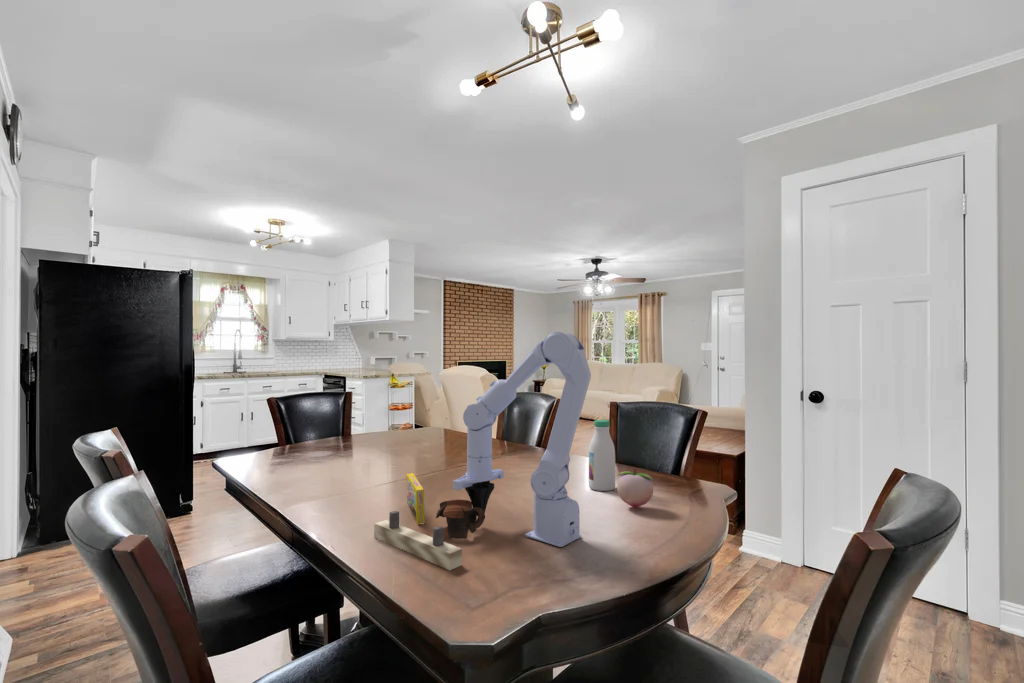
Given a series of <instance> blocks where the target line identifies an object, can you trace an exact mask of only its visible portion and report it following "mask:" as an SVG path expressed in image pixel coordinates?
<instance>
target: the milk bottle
mask: <svg viewBox="0 0 1024 683" xmlns="http://www.w3.org/2000/svg"><path fill="white" fill-rule="evenodd" d="M610 424H611V423H610V421H609V420H607V419H595V420H594V421H593V427H594V432H593V436H592V438H591V440H590V443H589V449H588V487H589V489H591V490H593V491H598V492H611V491H614V490H615V489H616V450H615V444H614V442H613V439H612V437H611V434H610V426H611V425H610Z"/></svg>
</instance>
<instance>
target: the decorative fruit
mask: <svg viewBox="0 0 1024 683" xmlns="http://www.w3.org/2000/svg"><path fill="white" fill-rule="evenodd" d="M633 470H634V472H632V471H629V470H627V471H620V472H619V473H618V474H617V475H616V476H619V478H618V480H617V482H616V483H617V485H616V490H617V494H618V496H619V497H620V499H621V500H622V502H624V503H625V504H626V505H628V506H631V507H632V508H634V509H636V508H639V507H642V506H644V505H646V504H647V503H649V502H650V500H651V499H652V497H653V494H654V485H653V482H655V481H654V478H652V476H650V475H649V474H647V473H643V472H638V473H637V472H636V471H637V470H636V468H634V469H633ZM652 481H653V482H652Z"/></svg>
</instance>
